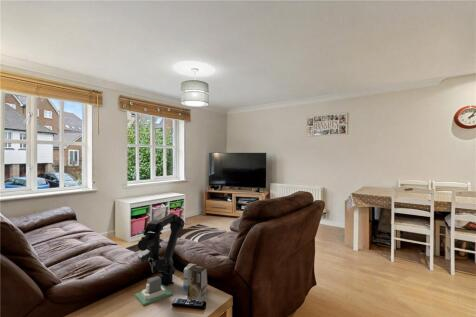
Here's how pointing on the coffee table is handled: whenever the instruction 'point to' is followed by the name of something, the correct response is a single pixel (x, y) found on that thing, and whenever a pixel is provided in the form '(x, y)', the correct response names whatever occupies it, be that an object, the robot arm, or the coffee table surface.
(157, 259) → the robot arm
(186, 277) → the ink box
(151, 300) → the dock
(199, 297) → the coffee box
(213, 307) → the coffee table surface
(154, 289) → the plug
